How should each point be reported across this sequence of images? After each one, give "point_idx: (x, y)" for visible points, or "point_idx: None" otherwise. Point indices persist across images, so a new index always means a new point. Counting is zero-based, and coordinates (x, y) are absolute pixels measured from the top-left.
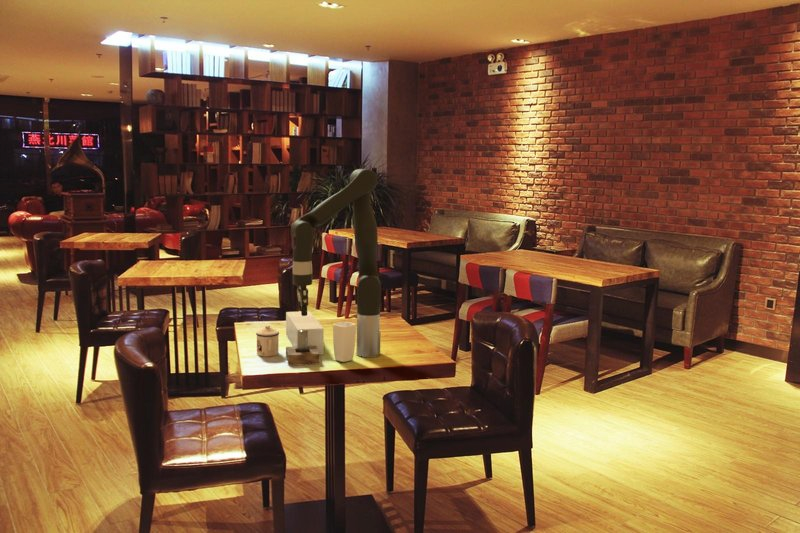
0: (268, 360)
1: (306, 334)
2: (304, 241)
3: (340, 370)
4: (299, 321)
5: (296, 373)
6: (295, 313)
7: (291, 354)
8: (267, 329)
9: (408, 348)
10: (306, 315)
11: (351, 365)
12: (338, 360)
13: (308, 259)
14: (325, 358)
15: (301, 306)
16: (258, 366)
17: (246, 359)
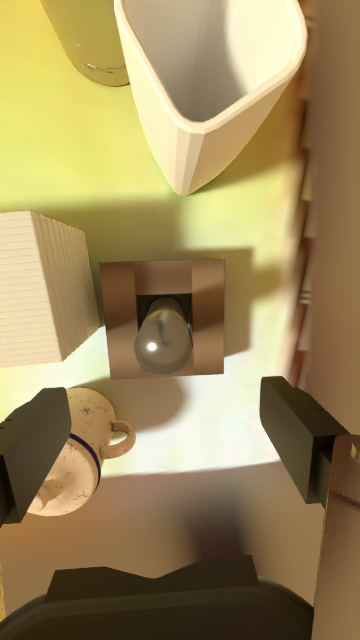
0: (157, 414)
1: (183, 324)
2: None
3: (302, 193)
4: None
5: (300, 340)
6: None
7: (215, 363)
8: (59, 491)
9: None
10: (279, 379)
11: (253, 139)
12: (204, 184)
13: None
14: (152, 231)
15: (323, 501)
16: (213, 439)
17: (140, 470)
